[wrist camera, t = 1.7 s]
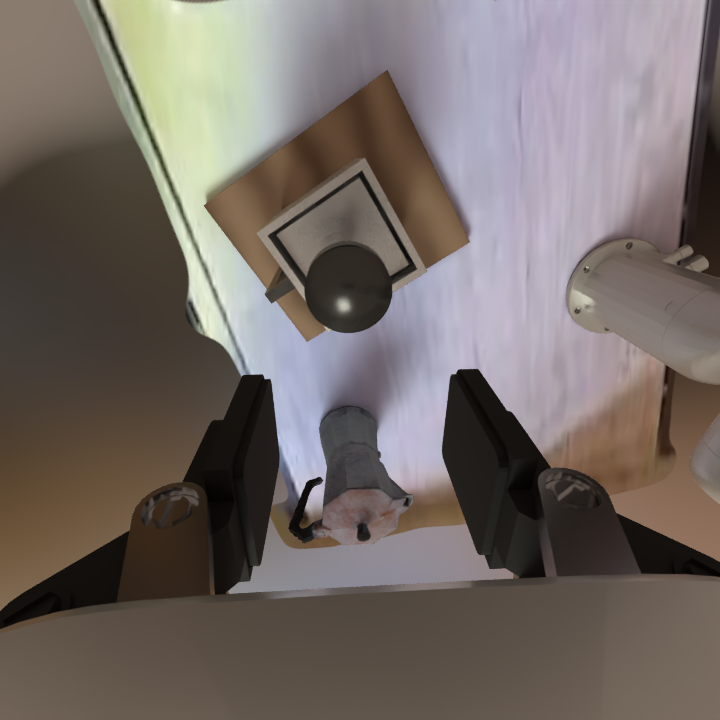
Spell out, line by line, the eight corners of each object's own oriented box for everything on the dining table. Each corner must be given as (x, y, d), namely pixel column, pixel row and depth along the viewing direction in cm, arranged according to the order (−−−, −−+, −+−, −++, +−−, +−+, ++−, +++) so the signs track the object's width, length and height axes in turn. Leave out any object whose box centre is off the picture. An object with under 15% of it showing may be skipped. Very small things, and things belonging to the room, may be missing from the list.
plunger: (358, 177, 32) (372, 186, 20) (407, 262, 35) (442, 311, 24) (277, 233, 33) (247, 271, 22) (331, 309, 37) (329, 377, 25)
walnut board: (386, 72, 41) (387, 70, 40) (467, 240, 50) (470, 241, 48) (206, 204, 46) (203, 205, 45) (307, 338, 54) (307, 341, 53)
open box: (355, 158, 44) (364, 157, 29) (399, 238, 48) (427, 271, 33) (259, 225, 46) (226, 254, 32) (310, 295, 50) (300, 348, 36)
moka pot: (404, 436, 63) (431, 547, 45) (314, 469, 65) (307, 588, 47) (381, 388, 58) (402, 489, 41) (287, 425, 60) (267, 537, 43)
